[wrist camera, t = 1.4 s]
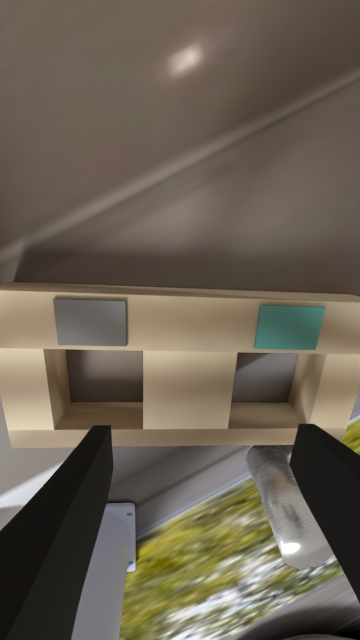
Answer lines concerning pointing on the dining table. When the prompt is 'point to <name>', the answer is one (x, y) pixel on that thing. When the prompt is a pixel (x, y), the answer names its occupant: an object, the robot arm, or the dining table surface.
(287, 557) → the steel peg
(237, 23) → the dining table surface
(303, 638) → the dinner plate
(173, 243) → the dining table surface
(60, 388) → the socket block
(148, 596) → the dining table surface
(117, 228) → the dining table surface
